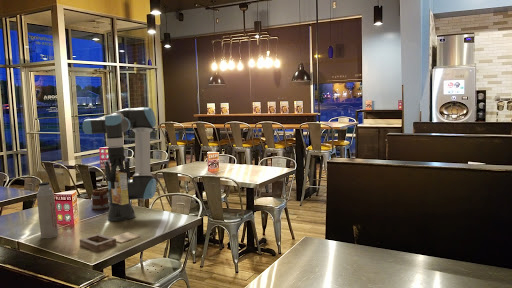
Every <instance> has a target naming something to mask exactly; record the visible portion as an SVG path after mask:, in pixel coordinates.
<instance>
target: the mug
mask: <svg viewBox="0 0 512 288" xmlns="http://www.w3.org/2000/svg"><path fill="white" fill-rule="evenodd" d="M91 192H92V193H91V196H90V198H91V199H92V204H91V206H90V207H91V209H92V210H93V211H102V210H107V209H109V208H110V202H109V192H108V188H99V189H98V188H96V189H93V190H92V191H91Z"/></svg>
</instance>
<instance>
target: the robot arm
mask: <svg viewBox="0 0 512 288" xmlns="http://www.w3.org/2000/svg"><path fill="white" fill-rule="evenodd" d="M156 124H157V121H156V115H155V111H154V110H153V108H152V107H133V108H132V107H131V108H128V107H127V108H122V109H119V110H116V111H112V112H111V113H109V114H106V115H105V116H104V115H103V116H100V117H97V118H88V119H87V118H86V119H84V120H83V121H82V131H83V133H85V134H86V135H94V134H95V135H96V134H106V144H107V145H106V146H107V155H108V159H107V160H106V161H103V165H104V171H105V179H106V180H105V181H106V182H108V183H107V192H108V194H109V196H108V201H109V202H110V207H109V208H108V212H107V220H108V221H110V222H123V221H128V220H130V219H131V220H132V219H133V218H135V216H136V213H135V210H134V208H133V206H132V202H131V200H149V199H153V198H154V197H155V194H156V190H157V180H156V178H154V176H153V174H152V173H151V133H152V132H153V131H154V130H153V129H154V128H155V127H156V126H157V125H156ZM130 129H132V131H133V132H134V141H135V142H134V146H135V147H134V154H135V155H134V161H135V162H134V174H133V175H132V178H131V179H130V177H131V167H130V162H131V161H130V160H131V158H130V157H126V156H125V147H124V143H125V142H124V133H125V132H127V131H129V130H130ZM117 168H119V172H124V173H127V187H128V200H129V203H128V204H124V205H120V204H116V203H112V191H111V189H113V195H118V194H117V182H115V175H116V171H117Z"/></svg>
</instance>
